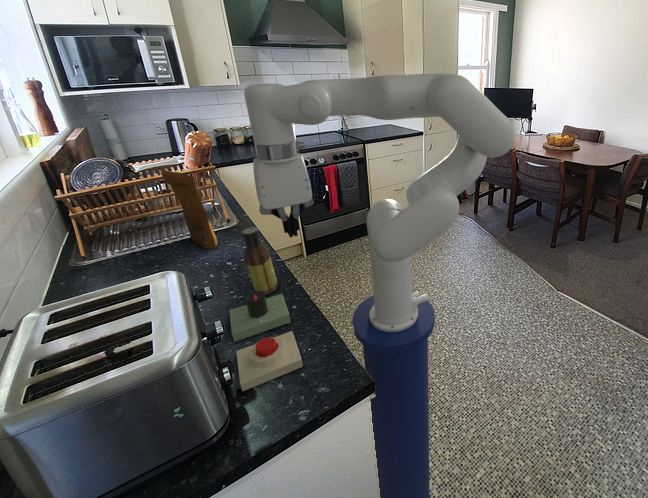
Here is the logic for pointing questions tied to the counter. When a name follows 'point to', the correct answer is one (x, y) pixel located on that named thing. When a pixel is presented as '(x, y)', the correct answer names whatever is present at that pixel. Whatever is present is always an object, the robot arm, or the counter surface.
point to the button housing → (268, 362)
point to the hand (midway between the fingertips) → (292, 234)
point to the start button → (266, 347)
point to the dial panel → (258, 319)
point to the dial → (256, 304)
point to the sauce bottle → (259, 262)
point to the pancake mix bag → (192, 208)
